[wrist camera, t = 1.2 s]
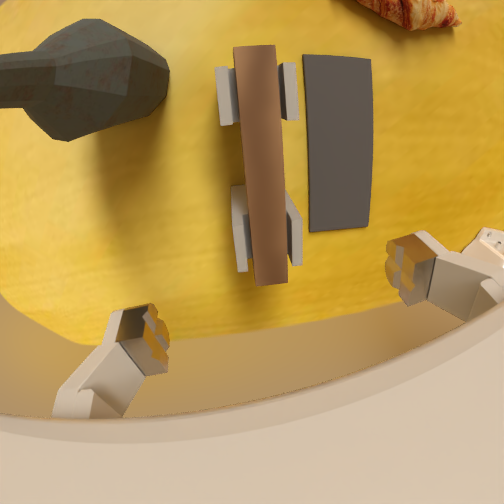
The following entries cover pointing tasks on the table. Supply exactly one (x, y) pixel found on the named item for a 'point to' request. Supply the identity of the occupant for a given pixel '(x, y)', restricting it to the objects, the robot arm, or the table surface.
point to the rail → (263, 160)
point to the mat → (339, 140)
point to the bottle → (84, 80)
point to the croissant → (415, 13)
